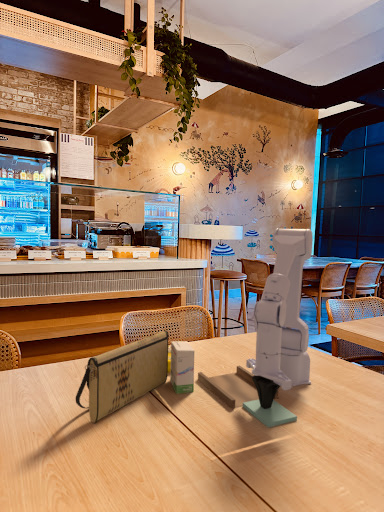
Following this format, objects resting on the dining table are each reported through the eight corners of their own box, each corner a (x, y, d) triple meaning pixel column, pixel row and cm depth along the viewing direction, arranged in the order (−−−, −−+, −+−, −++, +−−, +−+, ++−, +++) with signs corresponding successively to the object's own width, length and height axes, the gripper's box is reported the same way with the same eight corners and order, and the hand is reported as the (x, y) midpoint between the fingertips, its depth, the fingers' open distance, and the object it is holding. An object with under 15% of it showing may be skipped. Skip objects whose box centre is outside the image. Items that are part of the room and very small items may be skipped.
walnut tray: (239, 373, 108) (239, 365, 107) (278, 399, 91) (278, 390, 91) (197, 381, 101) (198, 372, 101) (231, 410, 85) (231, 400, 85)
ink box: (194, 393, 94) (195, 350, 93) (175, 395, 92) (176, 351, 91) (186, 380, 102) (187, 340, 101) (169, 381, 101) (170, 340, 100)
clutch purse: (152, 376, 104) (153, 326, 103) (171, 382, 100) (172, 330, 99) (67, 420, 79) (67, 354, 78) (88, 430, 76) (89, 361, 74)
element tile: (141, 355, 122) (142, 341, 122) (185, 358, 120) (185, 344, 120) (128, 372, 107) (128, 356, 107) (177, 376, 105) (177, 360, 105)
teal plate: (269, 404, 90) (269, 397, 90) (296, 424, 81) (296, 416, 81) (242, 410, 86) (242, 402, 86) (267, 432, 77) (268, 423, 77)
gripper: (236, 343, 88) (235, 396, 89) (274, 364, 75) (271, 425, 76) (260, 340, 92) (258, 391, 93) (300, 359, 79) (297, 419, 79)
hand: (265, 406), depth 85 cm, fingers closed
